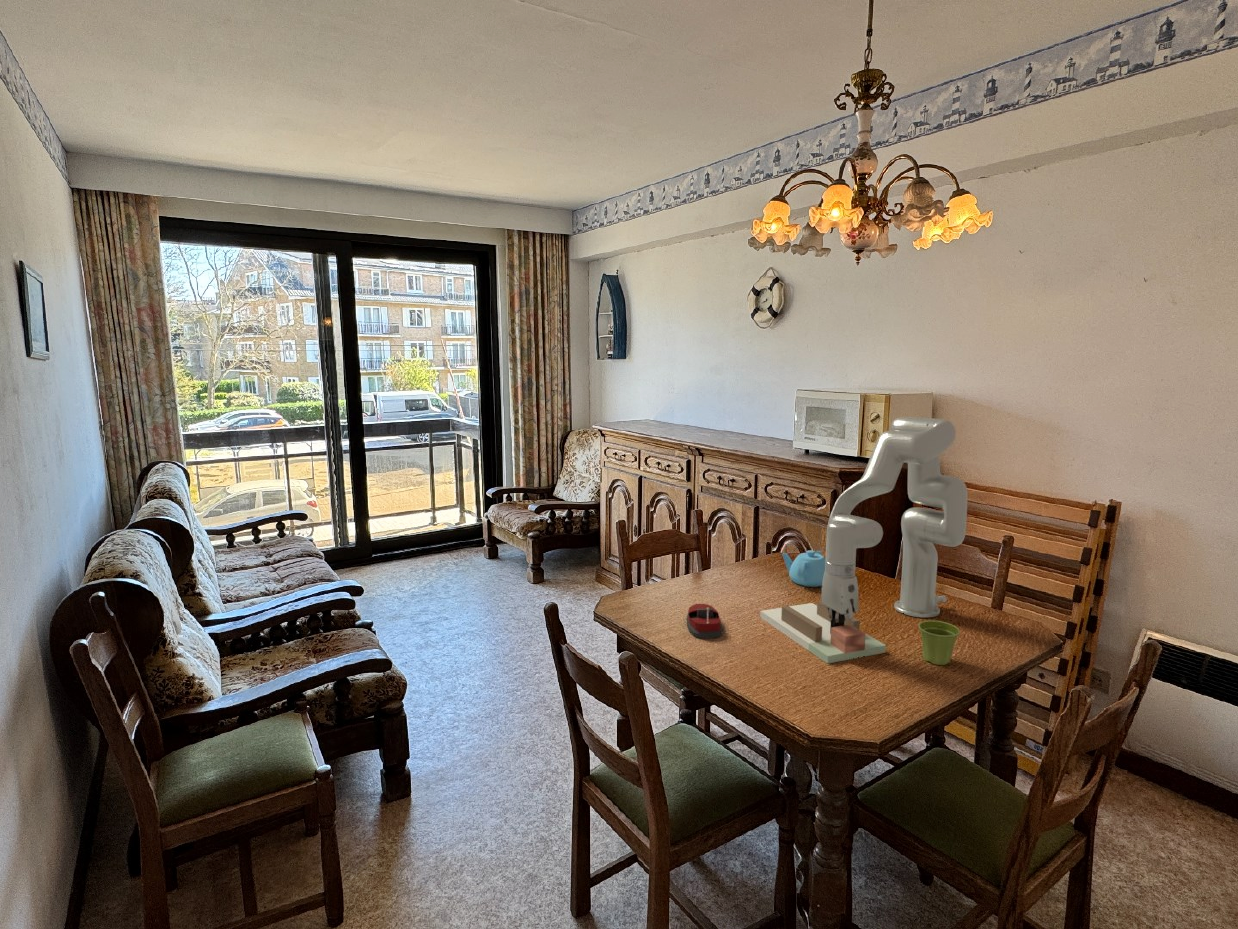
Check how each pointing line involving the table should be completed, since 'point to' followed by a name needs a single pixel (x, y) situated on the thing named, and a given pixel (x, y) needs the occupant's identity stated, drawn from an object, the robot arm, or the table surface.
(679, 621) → the table surface
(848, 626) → the block
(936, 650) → the plant pot
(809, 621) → the board with rails
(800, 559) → the teapot
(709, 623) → the bumper car
